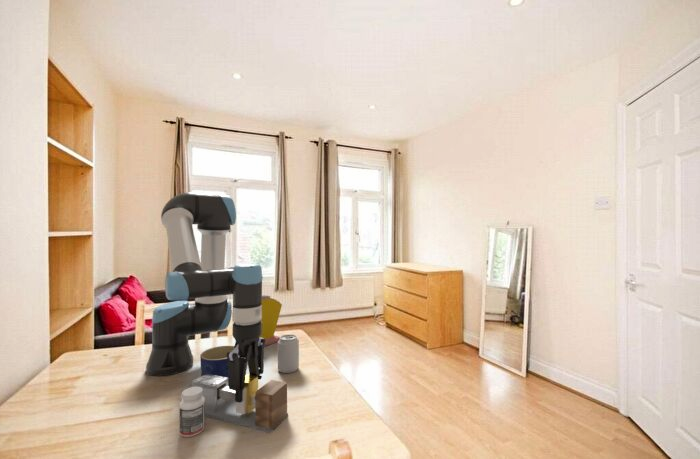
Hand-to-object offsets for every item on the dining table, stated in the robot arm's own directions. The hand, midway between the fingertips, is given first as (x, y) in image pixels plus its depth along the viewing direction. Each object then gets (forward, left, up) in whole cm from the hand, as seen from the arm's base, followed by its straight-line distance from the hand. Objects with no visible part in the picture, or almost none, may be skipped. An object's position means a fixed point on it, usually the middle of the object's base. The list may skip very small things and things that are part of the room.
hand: (247, 407), depth 85 cm
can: (-5, +29, -2) cm, 29 cm away
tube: (-4, 0, 0) cm, 4 cm away
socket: (+8, 0, -2) cm, 8 cm away
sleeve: (-13, 0, -2) cm, 13 cm away
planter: (-19, +11, -2) cm, 22 cm away
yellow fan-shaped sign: (-31, +48, -2) cm, 57 cm away
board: (-3, 0, -2) cm, 4 cm away
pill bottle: (-9, -10, -2) cm, 13 cm away
